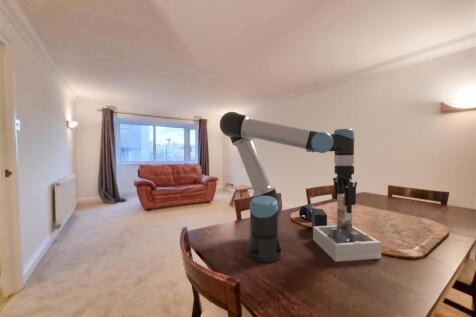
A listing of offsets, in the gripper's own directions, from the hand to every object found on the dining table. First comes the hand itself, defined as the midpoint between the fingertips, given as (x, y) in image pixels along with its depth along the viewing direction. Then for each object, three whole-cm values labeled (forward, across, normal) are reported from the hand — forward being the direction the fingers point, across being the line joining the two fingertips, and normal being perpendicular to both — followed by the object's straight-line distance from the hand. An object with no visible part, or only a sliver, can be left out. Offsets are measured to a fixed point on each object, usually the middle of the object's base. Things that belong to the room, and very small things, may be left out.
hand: (344, 218), depth 88 cm
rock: (+14, +38, -1) cm, 40 cm away
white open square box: (+14, 0, 0) cm, 14 cm away
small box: (+14, +20, +2) cm, 24 cm away
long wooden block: (+5, 0, 0) cm, 5 cm away
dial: (+11, -1, 0) cm, 11 cm away
